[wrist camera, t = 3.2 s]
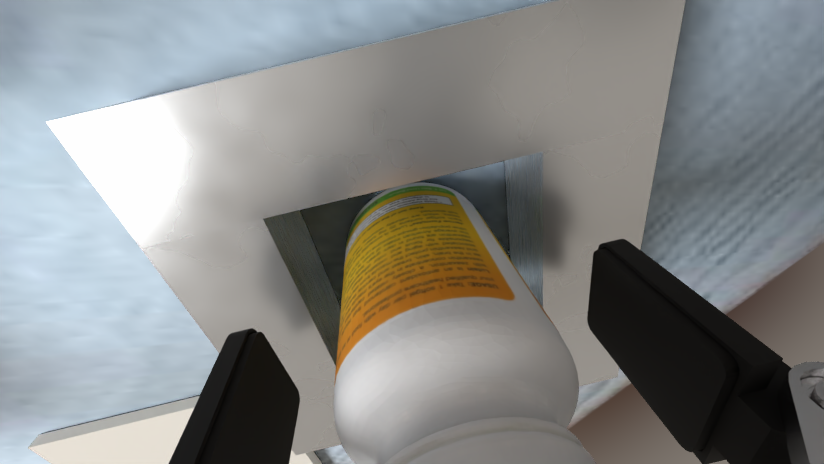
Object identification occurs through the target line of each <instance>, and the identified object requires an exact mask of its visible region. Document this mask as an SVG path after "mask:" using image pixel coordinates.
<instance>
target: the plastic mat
mask: <svg viewBox="0 0 824 464" xmlns="http://www.w3.org/2000/svg"><path fill="white" fill-rule="evenodd" d="M199 397H200V396H196V397H192V398H188V399H184V400H180V401H176V402H172V403H167V404H163V405H159V406H155V407H151V408H147V409H143V410H139V411H134V412H130V413H126V414H122V415H118V416H114V417H110V418H106V419H101V420H97V421H93V422H89V423H85V424H81V425H77V426H72V427H68V428H64V429H60V430H56V431H52V432H48V433H44V434H39V435H38V436H37V437H36V439H35V440H34V441H33V442H32V443H31V445H30V446H29V447H28V448H29V449H30V450H32V451H33V452H35V453H36V454H38V455H39V456H41V457H42V458H44V459H45V460H47V461H48V462H50V463H51V464H169V462H170V459H171V457H172V455H173V453H174V451H175V449H176V446H177V444H178V442H179V440H180V438H181V436H182V433H183V431H184V429H185V427H186V425H187V423H188V420H189V418H190V416H191V414H192V412H193V410H194V407H195V405H196V403H197V401H198V399H199ZM289 464H322V463H321V461H320V460H319V458H318V457H317V456H316V454H315V453H314V451H312V452H308V453H304V454H300V455H295V453H294V452H293V451H292V450H291V455H290V461H289Z"/></svg>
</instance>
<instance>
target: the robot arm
mask: <svg viewBox="0 0 824 464" xmlns="http://www.w3.org/2000/svg"><path fill="white" fill-rule="evenodd" d="M587 322H588V326H589V328H590V330H591V331H592V333H593V334H594V335H595V337H596V338H597V339H598V341H599V342H600V343H601V344H602V346H603V347H604V348H605V350H606V351H607V352H608V353H609V355H610V356H611V357H612V358H613V360H614V361H615V362H616V364H617V365H618V366H619V367H620V369H621V370H622V371H623V373H624V374H625V375H626V376H627V378H628V379H629V380H630V381H631V383H632V384H633V385H634V387H635V388H636V389H637V390H638V392H639V393H640V394H641V396H642V397H643V398H644V399H645V400H646V402H647V403H648V404H649V406H650V407H651V408H652V410H653V411H654V412H655V413H656V415H657V416H658V417H659V419H660V420H661V421H662V422H663V424H664V425H665V426H666V427H667V429H668V430H669V431H670V433H671V434H672V435H673V436H674V438H675V439H676V440H677V441H678V443H679V444H680V445H681V446H682V447H683V448H684V449H685V450H687V451H689V452H693V453H694V454H695V455H696V456H697V458H698V459H699V460H700V461H701V463H702V464H709V463H713V462H717V461H722V460H727V461H728V462H729V463H730V464H824V363H823V362H804V363H801V364H798V365H795V366H794V367H793V368H790V367H789V366H788V365H786V364H785V363H784V362H782V360H783V358H782V357H780V356H779V355H777V354H776V353H775V352H774V351H772V350H771V349H770V348H768V347H767V346H766V345H765V344H763V343H762V342H761V341H759V340H758V339H757V338H755V337H754V336H753V335H751V334H750V333H749V332H747V331H746V330H745V329H743V328H742V327H741V326H739V325H738V324H737V323H736V322H734V321H733V320H732V319H730V318H729V317H728V316H726V315H725V314H724V313H722V312H721V311H720V310H718V309H717V308H716V307H714V306H713V305H712V304H710V303H709V302H708V301H706V300H705V299H704V298H703V297H701V296H700V295H699V294H697V293H696V292H695V291H693V290H692V289H691V288H689V287H688V286H687V285H685V284H684V283H683V282H681V281H680V280H679V279H677V278H676V277H675V276H673V275H672V274H671V273H670V272H668V271H667V270H666V269H664V268H663V267H662V266H660V265H659V264H658V263H656V262H655V261H654V260H652V259H651V258H650V257H648V256H647V255H646V254H644V253H643V252H642V251H641V250H639V249H638V248H637V247H635V246H634V245H633V244H631V243H630V242H629V241H627V240H625V239H618V240H614V241H610V242H606V243H602V244H600V245H599V247H598V250H596V251H594V253H593V261H592V272H591V283H590V293H589V304H588V315H587ZM299 404H300V395H299V391H298V389H297V387H296V385H295V384H294V382H293V381H292V379H291V377H290V376H289V374H288V372H287V371H286V369H285V368H284V366H283V364H282V363H281V361H280V360H279V358H278V356H277V355H276V353H275V351H274V350H273V348H272V347H271V345H270V343H269V342H268V340H267V339H266V337H265V335H264V334H263V333H262V332H257V331H256V330H255V329H253V328H250V329H246V330H242V331H238V332H234V333H231V334H229V335H228V337H227V338H226V340H225V343H224V345H223V347H222V349H221V351H220V353H219V356H218V358H217V360H216V362H215V364H214V366H213V369H212V371H211V373H210V375H209V377H208V379H207V382H206V384H205V386H204V388H203V390H202V392H201V394H200V397H199V399H198V401H197V403H196V405H195V407H194V410H193V412H192V414H191V416H190V418H189V420H188V423H187V425H186V427H185V429H184V431H183V433H182V436H181V438H180V440H179V442H178V444H177V446H176V449H175V451H174V453H173V455H172V457H171V459H170V462H169V464H289V461H290V455H291V450H292V444H293V438H294V433H295V427H296V421H297V416H298V410H299Z"/></svg>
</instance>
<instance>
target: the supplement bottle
mask: <svg viewBox="0 0 824 464" xmlns="http://www.w3.org/2000/svg"><path fill="white" fill-rule="evenodd" d="M578 394H579V381H578V373H577V369H576V365H575V363H574V360H573V357H572V355H571V353H570V351H569V349H568V347H567V346H566V344H565V342H564V340H563V339H562V337H561V335H560V333H559V331H558V330H557V328H556V327H555V325H554V324H553V322H552V321H551V319H550V318H549V316H548V315H547V314H546V312H545V310H544V309H543V307H542V306H541V305H540V303H539V302H538V300H537V299H536V297H535V296H534V294H533V293H532V291H531V290H530V288H529V287H528V285H527V284H526V282H525V281H524V279H523V278H522V276H521V275H520V273H519V272H518V270H517V269H516V267H515V266H514V264H513V263H512V261H511V260H510V258H509V257H508V255H507V254H506V252H505V251H504V249H503V248H502V246H501V245H500V243H499V241H498V240H497V238H496V237H495V236H494V234H493V233H492V231H491V229H490V228H489V227H488V225H487V223H486V222H485V221H484V219H483V218H482V216H481V215H480V213H479V212H478V211H477V209H476V208H475V207H474V206H473V205H472V204H471V202H470V201H468V200H467V199H466V198H465V197H464V196H463V195H461V194H460V193H458V192H456V191H455V190H453V189H450V188H448V187H445V186H442V185H438V184H433V183H422V182H419V183H410V184H406V185H402V186H398V187H393V188H390V189H387V190H385V191H383V192H381V193H380V194H378V195H377V196H375V197H374V198H373V199H371V200H370V201H369V202H368V203H367V204H366V205H365V206H364V207H363V208H362V209H361V210H360V211H359V213H358V214H357V216H356V217H355V219H354V221H353V222H352V225H351V227H350V230H349V233H348V237H347V243H346V249H345V261H344V275H343V288H342V300H341V313H340V325H339V336H338V348H337V359H336V371H335V383H334V421H335V427H336V431H337V434H338V437H339V439H340V442H341V444H342V446H343V448H344V450H345V451H346V453H347V454H348V456H349V457H350V458H351V460H352V461H353V462H354V463H355V464H596V462H595V461H594V459H593V457H592V456H591V455H590V454H589V453H588V451H587V450H585V449H584V448H583V446H582V444H581V442H580V440H579V439H578V438H577V437H576V436H575V435H574V434H572V433H571V432H570V431H569V430H567V429H566V428H567V426H568V425H569V423H570V421H571V419H572V417H573V414H574V412H575V409H576V405H577V401H578Z"/></svg>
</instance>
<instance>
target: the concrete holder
mask: <svg viewBox="0 0 824 464" xmlns="http://www.w3.org/2000/svg"><path fill="white" fill-rule="evenodd" d="M685 1H686V0H552V1H548V2H543V3H539V4H535V5H531V6H527V7H522V8H518V9H514V10H510V11H506V12H501V13H497V14H493V15H489V16H484V17H480V18H476V19H472V20H468V21H463V22H459V23H455V24H451V25H447V26H442V27H438V28H434V29H430V30H425V31H421V32H417V33H413V34H409V35H404V36H400V37H396V38H392V39H388V40H383V41H379V42H375V43H371V44H367V45H362V46H358V47H354V48H350V49H345V50H341V51H337V52H333V53H329V54H324V55H320V56H316V57H312V58H308V59H303V60H299V61H295V62H291V63H286V64H282V65H278V66H274V67H270V68H265V69H261V70H257V71H253V72H249V73H244V74H240V75H236V76H232V77H228V78H223V79H219V80H215V81H211V82H206V83H202V84H198V85H194V86H190V87H185V88H181V89H177V90H173V91H169V92H164V93H160V94H156V95H152V96H147V97H143V98H139V99H135V100H131V101H127V102H123V103H119V104H115V105H111V106H107V107H103V108H99V109H96V110H92V111H88V112H84V113H80V114H76V115H72V116H68V117H64V118H60V119H57V120H53V121H49V122H46V123H47V124H48V125H49V127H50V128H51V129H52V131H53V132H54V133H55V135H56V136H57V137H58V139H59V140H60V141H61V143H62V144H63V145H64V147H65V148H66V149H67V151H68V152H69V153H70V155H71V156H72V157H73V159H74V160H75V161H76V163H77V164H78V165H79V167H80V168H81V169H82V171H83V172H84V173H85V175H86V176H87V177H88V179H89V180H90V181H91V183H92V184H93V185H94V187H95V188H96V189H97V191H98V192H99V193H100V195H101V196H102V197H103V199H104V200H105V201H106V203H107V204H108V205H109V207H110V208H111V209H112V211H113V212H114V213H115V215H116V216H117V217H118V219H119V220H120V221H121V223H122V224H123V225H124V227H125V228H126V229H127V231H128V232H129V233H130V235H131V236H132V237H133V239H134V240H135V241H136V243H137V244H138V245H139V247H140V248H141V249H142V251H143V252H144V253H145V255H146V256H147V257H148V259H149V260H150V261H151V263H152V264H153V265H154V267H155V268H156V269H157V271H158V272H159V273H160V275H161V276H162V277H163V279H164V280H165V281H166V283H167V284H168V285H169V287H170V288H171V289H172V291H173V292H174V293H175V295H176V296H177V297H178V299H179V300H180V301H181V303H182V304H183V305H184V307H185V308H186V309H187V311H188V312H189V313H190V315H191V316H192V317H193V319H194V320H195V321H196V323H197V324H198V325H199V327H200V328H201V329H202V331H203V332H204V333H205V335H206V336H207V337H208V339H209V340H210V341H211V343H212V344H213V345H214V347H215V348H216V349H217V351H218V352H219V353H220V351H221V349H222V347H223V345H224V343H225V340H226V338H227V337H228V335H229V334H231V333H234V332H238V331H242V330H246V329H250V328H253V329H255V330H256V331H257V332H262V333H263V334H264V335H265V337H266V339H267V340H268V342H269V343H270V345H271V347H272V348H273V350H274V351H275V353H276V355H277V356H278V358H279V360H280V361H281V363H282V364H283V366H284V368H285V369H286V371H287V372H288V374H289V376H290V377H291V379H292V381H293V382H294V384H295V385H296V387H297V389H298V391H299V395H300V404H299V410H298V416H297V421H296V427H295V433H294V438H293V444H292V451H293V452H294V453H295V455H300V454H304V453H308V452H312V451H316V450H320V449H324V448H329V447H333V446H337V445H341V442H340V439H339V437H338V434H337V431H336V427H335V421H334V383H335V371H336V359H337V348H338V336H339V325H340V313H341V307H340V304H339V302H338V300H337V297H336V295H335V293H334V290H333V288H332V285H331V283H330V281H329V278H328V276H327V274H326V271H325V269H324V267H323V264H322V262H321V259H320V257H319V255H318V252H317V250H316V248H315V245H314V243H313V241H312V238H311V236H310V234H309V231H308V229H307V226H306V224H305V222H304V219H303V217H302V215H301V212H300V210H302V209H306V208H310V207H314V206H318V205H322V204H327V203H331V202H335V201H339V200H343V199H347V198H352V197H356V196H360V195H364V194H368V193H372V192H377V191H381V190H385V189H389V188H393V187H398V186H402V185H406V184H410V183H414V182H418V181H423V180H427V179H431V178H435V177H439V176H443V175H448V174H452V173H456V172H460V171H464V170H468V169H473V168H477V167H481V166H485V165H489V164H493V163H498V162H502V161H504V165H505V181H506V197H507V213H508V229H509V245H510V260H511V261H512V263H513V264H514V266H515V267H516V269H517V270H518V272H519V273H520V275H521V276H522V278H523V279H524V281H525V282H526V284H527V285H528V287H529V288H530V290H531V291H532V293H533V294H534V296H535V297H536V299H537V300H538V302H539V303H540V305H541V306H542V307H543V309H544V310H545V312H546V314H547V315H548V316H549V318H550V319H551V321H552V322H553V324H554V325H555V327H556V328H557V330H558V331H559V333H560V335H561V337H562V339H563V340H564V342H565V344H566V346H567V347H568V349H569V351H570V353H571V355H572V357H573V360H574V363H575V365H576V369H577V373H578V381H579V386H583V385H587V384H591V383H595V382H599V381H603V380H608V379H612V378H616V377H617V376H618V371H619V366H618V365H617V364H616V362H615V361H614V360H613V358H612V357H611V356H610V355H609V353H608V352H607V351H606V350H605V348H604V347H603V346H602V344H601V343H600V342H599V341H598V339H597V338H596V337H595V335H594V334H593V333H592V331H591V330H590V328H589V326H588V322H587V315H588V304H589V293H590V283H591V272H592V261H593V253H594V251H596V250H598V247H599V245H600V244H602V243H606V242H610V241H614V240H618V239H625V240H627V241H629V242H630V243H631V244H633V245H634V246H635V247H637V248H638V249H639V250H640V249H641V244H642V238H643V233H644V227H645V222H646V216H647V211H648V205H649V200H650V194H651V189H652V183H653V178H654V172H655V167H656V161H657V156H658V150H659V145H660V139H661V133H662V128H663V122H664V117H665V111H666V106H667V100H668V95H669V89H670V84H671V78H672V73H673V67H674V62H675V56H676V51H677V45H678V40H679V34H680V29H681V23H682V18H683V12H684V7H685Z"/></svg>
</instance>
